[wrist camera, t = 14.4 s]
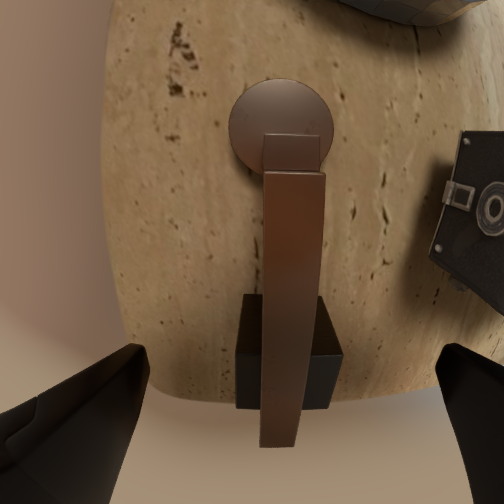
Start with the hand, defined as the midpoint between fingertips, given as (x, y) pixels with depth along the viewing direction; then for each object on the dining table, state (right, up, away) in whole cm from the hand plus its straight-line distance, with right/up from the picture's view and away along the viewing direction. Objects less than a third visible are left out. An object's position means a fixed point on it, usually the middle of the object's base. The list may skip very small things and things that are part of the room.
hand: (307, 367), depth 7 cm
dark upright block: (0, -1, +11) cm, 11 cm away
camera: (+16, +6, +9) cm, 19 cm away
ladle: (0, +4, +9) cm, 10 cm away
